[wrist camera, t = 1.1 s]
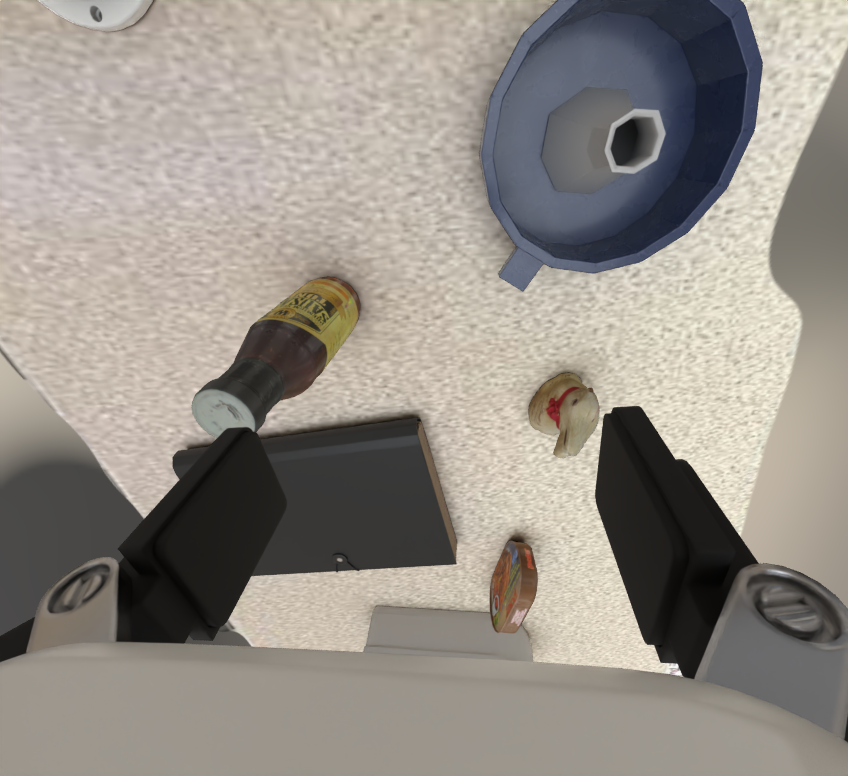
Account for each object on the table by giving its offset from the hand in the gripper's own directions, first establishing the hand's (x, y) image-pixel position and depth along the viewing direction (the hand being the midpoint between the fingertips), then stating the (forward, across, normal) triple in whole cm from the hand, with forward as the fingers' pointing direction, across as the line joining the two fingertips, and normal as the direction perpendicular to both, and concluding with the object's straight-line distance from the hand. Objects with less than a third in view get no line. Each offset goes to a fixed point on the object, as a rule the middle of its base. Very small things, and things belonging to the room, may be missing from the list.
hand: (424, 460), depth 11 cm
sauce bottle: (+29, +14, +4) cm, 33 cm away
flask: (+29, -11, -6) cm, 32 cm away
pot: (+29, -11, -6) cm, 32 cm away
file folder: (+30, +22, +32) cm, 49 cm away
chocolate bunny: (+30, -9, +18) cm, 36 cm away
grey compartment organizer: (+30, +8, +68) cm, 75 cm away
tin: (+30, -3, +47) cm, 56 cm away
